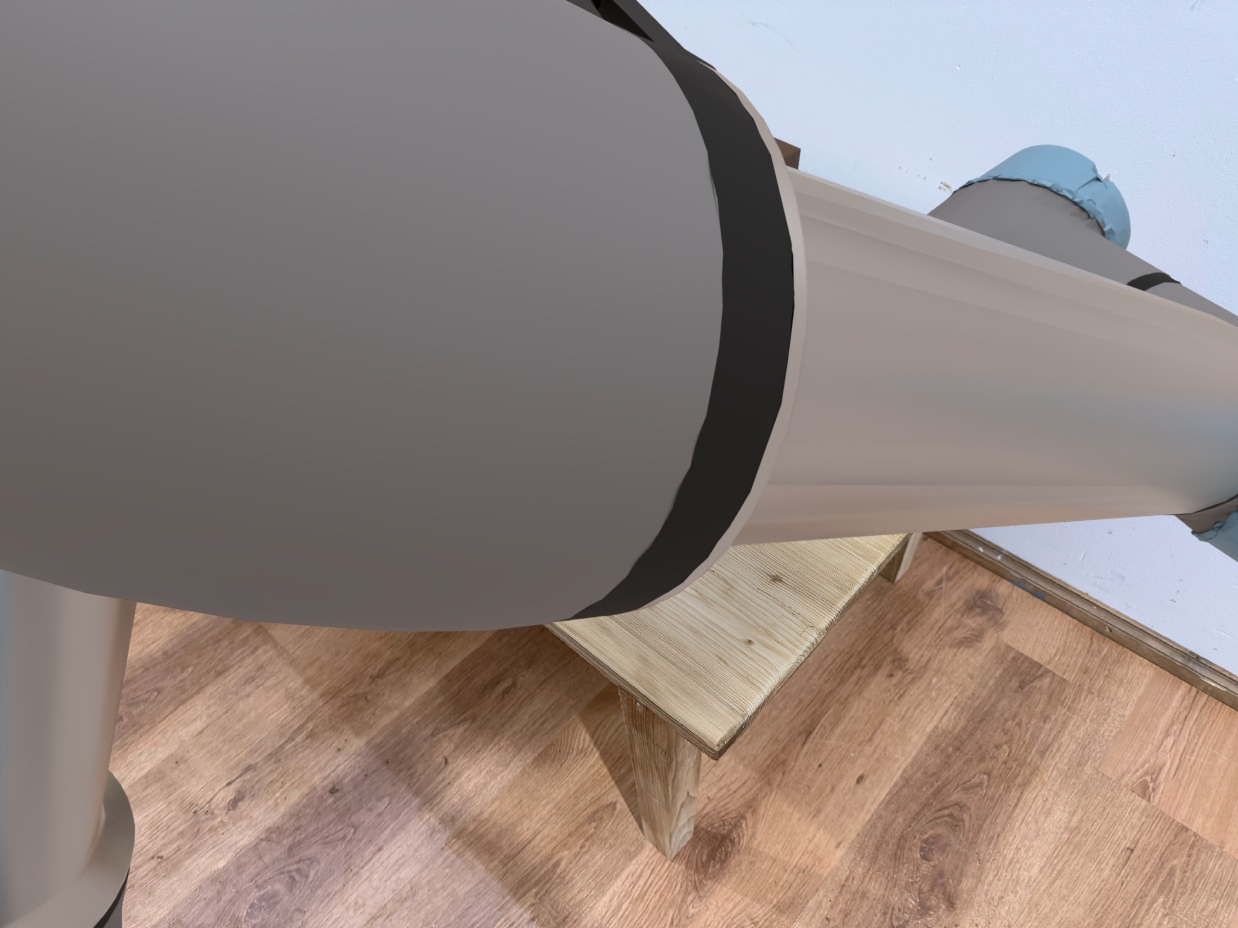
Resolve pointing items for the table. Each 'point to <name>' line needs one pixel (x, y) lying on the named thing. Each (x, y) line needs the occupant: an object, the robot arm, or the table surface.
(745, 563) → the table surface
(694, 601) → the table surface
